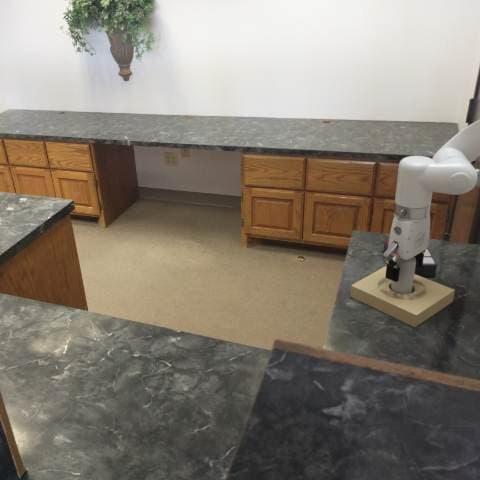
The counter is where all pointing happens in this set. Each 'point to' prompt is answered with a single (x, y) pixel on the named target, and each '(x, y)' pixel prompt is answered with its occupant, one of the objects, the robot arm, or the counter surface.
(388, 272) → the robot arm
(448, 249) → the counter surface
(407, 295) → the socket pad
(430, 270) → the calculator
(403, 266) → the beverage can
